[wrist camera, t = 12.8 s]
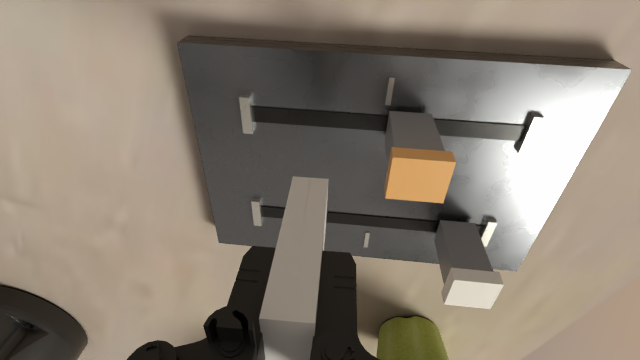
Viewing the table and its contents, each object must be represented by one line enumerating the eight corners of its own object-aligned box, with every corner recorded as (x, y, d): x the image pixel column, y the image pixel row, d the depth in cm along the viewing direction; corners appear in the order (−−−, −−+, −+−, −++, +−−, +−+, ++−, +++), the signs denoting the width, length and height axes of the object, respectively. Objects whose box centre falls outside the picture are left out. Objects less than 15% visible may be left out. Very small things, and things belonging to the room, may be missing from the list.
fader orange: (380, 143, 21) (385, 198, 17) (386, 107, 20) (392, 157, 16) (427, 147, 21) (443, 203, 17) (436, 110, 20) (456, 162, 15)
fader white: (430, 241, 26) (443, 304, 22) (438, 217, 24) (454, 280, 20) (469, 245, 26) (490, 309, 21) (479, 221, 24) (503, 284, 20)
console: (224, 230, 30) (217, 246, 28) (187, 35, 20) (173, 44, 19) (510, 256, 28) (518, 275, 27) (614, 60, 19) (637, 72, 17)
